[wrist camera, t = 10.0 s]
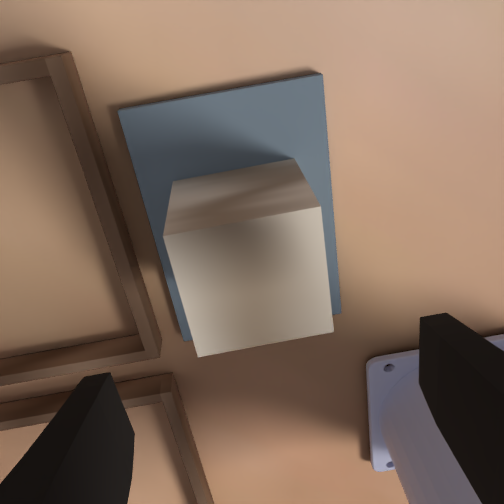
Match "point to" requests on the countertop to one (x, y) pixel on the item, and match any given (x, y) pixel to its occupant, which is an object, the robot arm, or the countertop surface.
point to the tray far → (131, 396)
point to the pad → (231, 151)
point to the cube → (249, 257)
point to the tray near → (114, 229)
